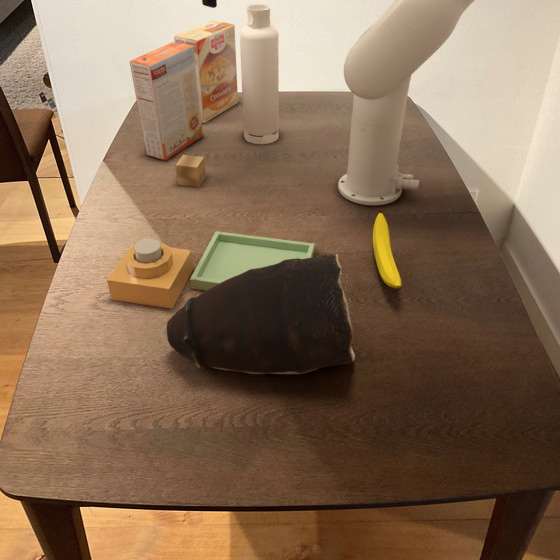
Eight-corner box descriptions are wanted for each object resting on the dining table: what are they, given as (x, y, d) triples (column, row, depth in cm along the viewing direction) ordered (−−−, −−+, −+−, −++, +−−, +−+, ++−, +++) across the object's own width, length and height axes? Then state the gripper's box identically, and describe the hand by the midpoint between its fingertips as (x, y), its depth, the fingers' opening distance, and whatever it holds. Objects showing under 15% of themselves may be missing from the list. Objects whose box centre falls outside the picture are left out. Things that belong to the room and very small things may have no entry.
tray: (314, 252, 99) (314, 243, 98) (299, 304, 89) (299, 294, 88) (216, 240, 102) (215, 230, 101) (191, 288, 92) (189, 278, 91)
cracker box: (183, 131, 137) (173, 40, 123) (204, 137, 134) (195, 44, 121) (143, 155, 127) (127, 59, 114) (165, 162, 125) (151, 64, 112)
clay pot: (151, 260, 78) (333, 226, 76) (185, 328, 89) (345, 301, 87) (140, 348, 68) (350, 312, 66) (180, 413, 79) (361, 384, 77)
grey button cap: (165, 250, 91) (164, 239, 89) (156, 265, 88) (154, 255, 86) (142, 247, 91) (140, 236, 90) (131, 262, 88) (129, 251, 87)
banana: (384, 311, 88) (389, 278, 84) (368, 238, 102) (371, 208, 98) (403, 310, 88) (409, 278, 84) (384, 238, 103) (388, 208, 99)
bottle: (238, 132, 136) (232, 5, 118) (270, 126, 139) (268, 0, 121) (252, 146, 130) (247, 14, 113) (284, 140, 133) (285, 10, 115)
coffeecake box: (204, 124, 140) (197, 40, 128) (181, 117, 143) (172, 35, 130) (239, 103, 150) (235, 23, 137) (217, 97, 153) (211, 19, 140)
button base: (193, 269, 96) (190, 239, 92) (172, 309, 88) (167, 278, 84) (137, 261, 98) (131, 232, 94) (111, 299, 90) (104, 269, 86)
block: (205, 176, 120) (204, 156, 117) (199, 187, 117) (196, 167, 114) (185, 174, 121) (183, 154, 118) (177, 184, 117) (175, 164, 114)
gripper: (197, -109, 85) (206, 14, 96) (279, -118, 95) (279, -4, 105) (166, -113, 89) (178, 6, 100) (248, -121, 99) (251, -11, 109)
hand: (230, 1), depth 103 cm, fingers open, 9 cm apart
